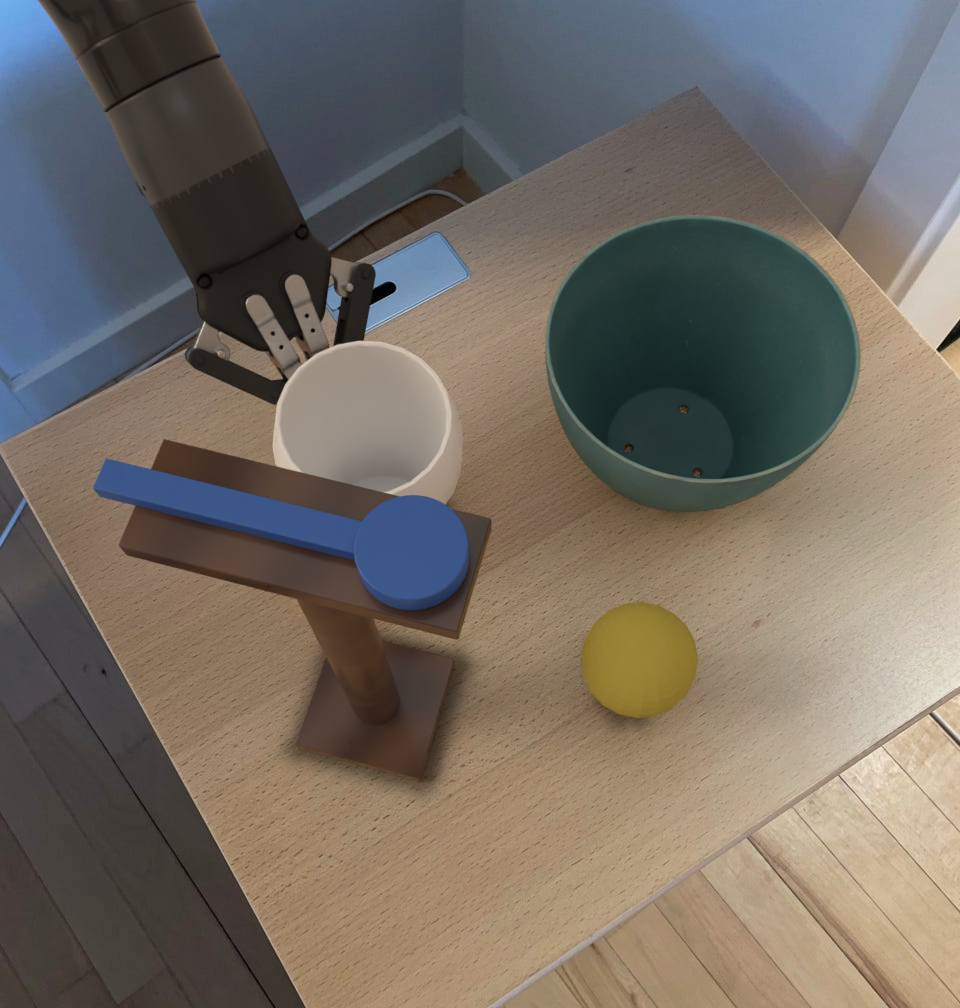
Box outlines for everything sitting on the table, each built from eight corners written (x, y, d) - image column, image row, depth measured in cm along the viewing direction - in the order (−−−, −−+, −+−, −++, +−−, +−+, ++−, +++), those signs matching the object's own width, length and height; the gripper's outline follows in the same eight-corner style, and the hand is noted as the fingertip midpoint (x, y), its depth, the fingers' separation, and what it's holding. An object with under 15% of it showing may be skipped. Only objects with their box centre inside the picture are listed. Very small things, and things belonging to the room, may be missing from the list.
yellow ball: (699, 707, 64) (733, 658, 55) (612, 763, 63) (632, 724, 54) (637, 623, 66) (660, 563, 57) (552, 677, 65) (561, 624, 56)
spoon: (85, 530, 41) (73, 516, 39) (126, 436, 42) (116, 420, 41) (452, 623, 39) (450, 612, 38) (482, 522, 40) (482, 509, 39)
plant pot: (822, 558, 68) (889, 469, 56) (549, 577, 68) (560, 491, 56) (778, 328, 74) (830, 204, 62) (527, 345, 74) (532, 224, 62)
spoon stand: (253, 736, 64) (103, 579, 40) (294, 622, 67) (176, 407, 42) (466, 794, 63) (446, 668, 38) (500, 675, 65) (501, 485, 41)
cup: (493, 545, 69) (502, 441, 54) (360, 630, 67) (333, 546, 52) (405, 427, 71) (391, 297, 56) (275, 507, 69) (226, 394, 55)
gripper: (102, 222, 53) (265, 508, 61) (325, 113, 55) (454, 404, 63) (97, 224, 59) (245, 482, 67) (296, 126, 61) (416, 388, 69)
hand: (346, 443), depth 65 cm, fingers closed
